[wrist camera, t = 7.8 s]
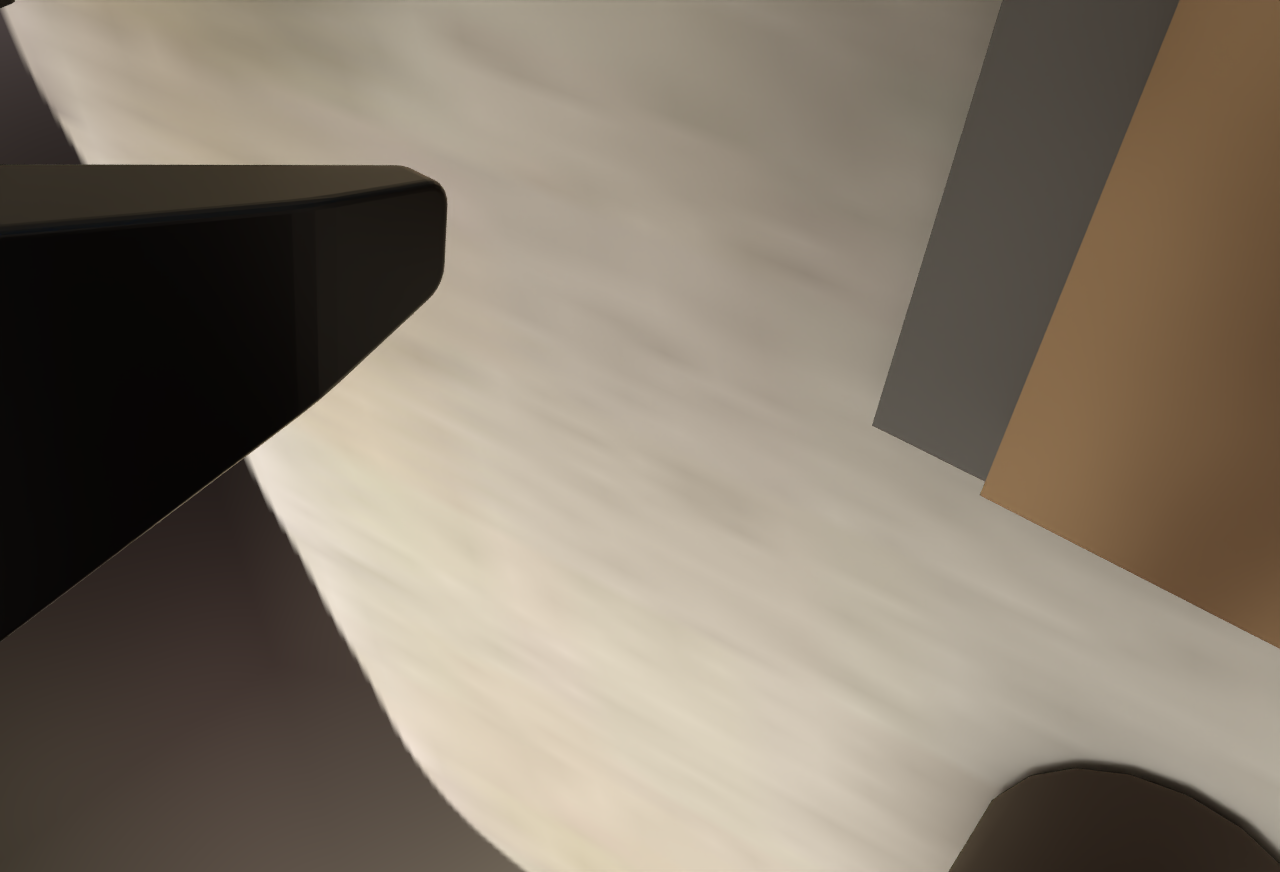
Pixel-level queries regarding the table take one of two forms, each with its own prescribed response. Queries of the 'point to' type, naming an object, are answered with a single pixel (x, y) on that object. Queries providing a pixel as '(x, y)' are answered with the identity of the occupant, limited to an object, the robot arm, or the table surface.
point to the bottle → (1105, 830)
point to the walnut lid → (1173, 337)
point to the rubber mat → (1015, 216)
